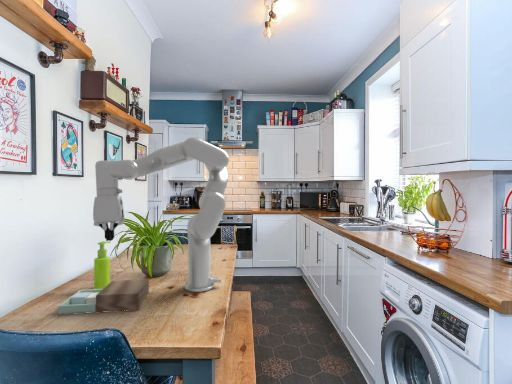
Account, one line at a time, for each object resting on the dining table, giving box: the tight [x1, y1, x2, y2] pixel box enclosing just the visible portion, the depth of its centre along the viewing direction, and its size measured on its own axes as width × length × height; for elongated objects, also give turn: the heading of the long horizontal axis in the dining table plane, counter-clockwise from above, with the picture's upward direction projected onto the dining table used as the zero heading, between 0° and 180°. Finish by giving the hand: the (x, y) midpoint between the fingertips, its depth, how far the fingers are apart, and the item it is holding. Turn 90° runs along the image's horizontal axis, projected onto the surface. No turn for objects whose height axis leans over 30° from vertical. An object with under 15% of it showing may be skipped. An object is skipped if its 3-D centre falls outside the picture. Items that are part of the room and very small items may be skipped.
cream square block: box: [86, 293, 98, 304], centre depth 105 cm, size 5×5×3 cm
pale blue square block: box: [70, 292, 92, 305], centre depth 106 cm, size 5×5×3 cm
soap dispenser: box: [93, 240, 111, 289], centre depth 123 cm, size 6×7×20 cm
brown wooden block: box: [96, 278, 150, 313], centre depth 107 cm, size 14×16×6 cm
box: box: [57, 288, 103, 316], centre depth 105 cm, size 12×16×3 cm
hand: (109, 240), depth 110 cm, fingers closed
